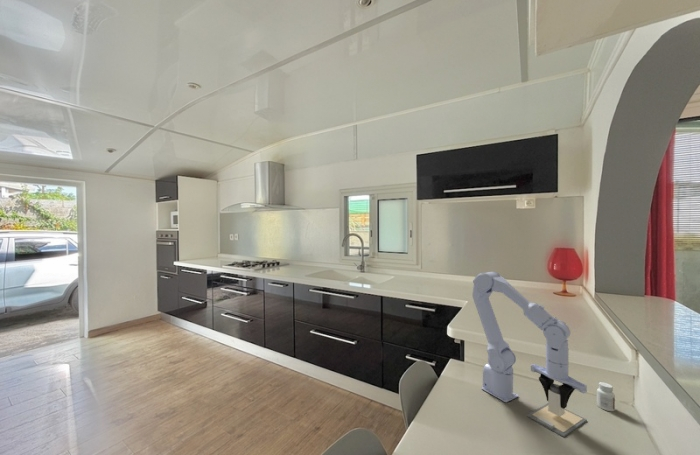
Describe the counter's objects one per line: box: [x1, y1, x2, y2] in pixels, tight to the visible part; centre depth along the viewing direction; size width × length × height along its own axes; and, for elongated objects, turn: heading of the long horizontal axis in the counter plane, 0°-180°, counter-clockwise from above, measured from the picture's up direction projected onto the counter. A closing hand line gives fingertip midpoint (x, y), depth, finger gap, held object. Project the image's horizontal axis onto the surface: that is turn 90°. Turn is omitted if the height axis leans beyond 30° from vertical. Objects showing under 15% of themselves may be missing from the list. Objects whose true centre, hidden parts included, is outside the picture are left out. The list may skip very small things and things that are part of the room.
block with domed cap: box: [547, 383, 566, 417], centre depth 85 cm, size 3×3×8 cm
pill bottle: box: [596, 381, 616, 412], centre depth 91 cm, size 4×4×8 cm
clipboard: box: [526, 403, 588, 438], centre depth 85 cm, size 10×15×1 cm, turn 119°
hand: (556, 403), depth 85 cm, fingers closed on block with domed cap, 3 cm apart
